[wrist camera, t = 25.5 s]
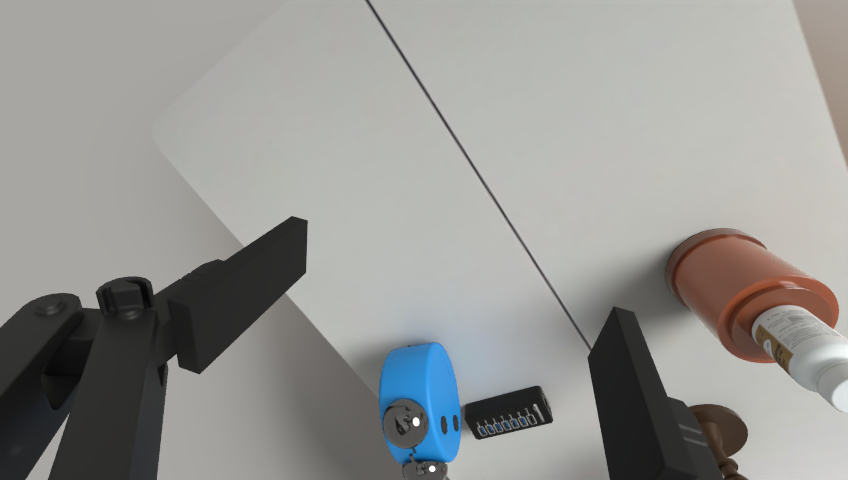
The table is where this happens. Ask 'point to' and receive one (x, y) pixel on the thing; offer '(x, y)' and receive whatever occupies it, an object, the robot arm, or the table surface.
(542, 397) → the multiport hub
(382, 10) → the table surface
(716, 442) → the candlestick
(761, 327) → the pill bottle
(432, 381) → the alarm clock
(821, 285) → the brown cylindrical container
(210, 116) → the table surface
